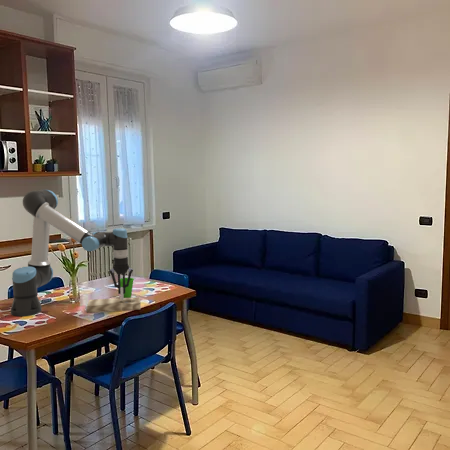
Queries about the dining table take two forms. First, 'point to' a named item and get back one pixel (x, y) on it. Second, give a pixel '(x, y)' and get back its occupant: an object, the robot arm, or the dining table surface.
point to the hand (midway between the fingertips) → (122, 299)
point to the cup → (127, 289)
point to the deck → (113, 304)
